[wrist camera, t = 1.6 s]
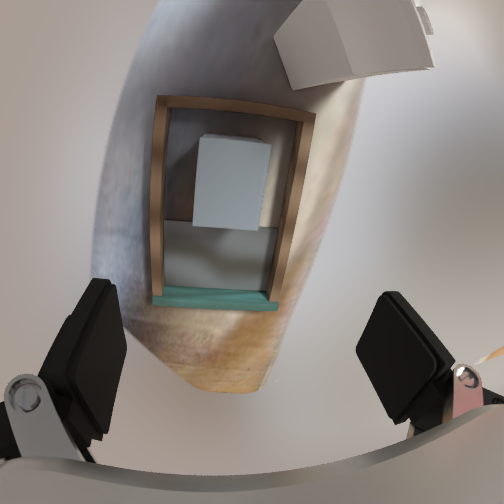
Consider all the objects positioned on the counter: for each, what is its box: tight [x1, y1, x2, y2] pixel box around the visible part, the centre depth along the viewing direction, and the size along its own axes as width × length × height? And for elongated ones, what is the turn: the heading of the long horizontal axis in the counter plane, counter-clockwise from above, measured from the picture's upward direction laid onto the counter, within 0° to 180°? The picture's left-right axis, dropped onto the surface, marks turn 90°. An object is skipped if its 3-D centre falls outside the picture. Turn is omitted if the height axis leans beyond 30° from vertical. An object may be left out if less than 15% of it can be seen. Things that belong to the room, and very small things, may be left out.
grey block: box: [193, 133, 272, 231], centre depth 27 cm, size 8×6×7 cm
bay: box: [150, 95, 316, 311], centre depth 31 cm, size 25×16×3 cm, turn 172°
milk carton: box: [273, 0, 436, 91], centre depth 16 cm, size 7×7×19 cm
